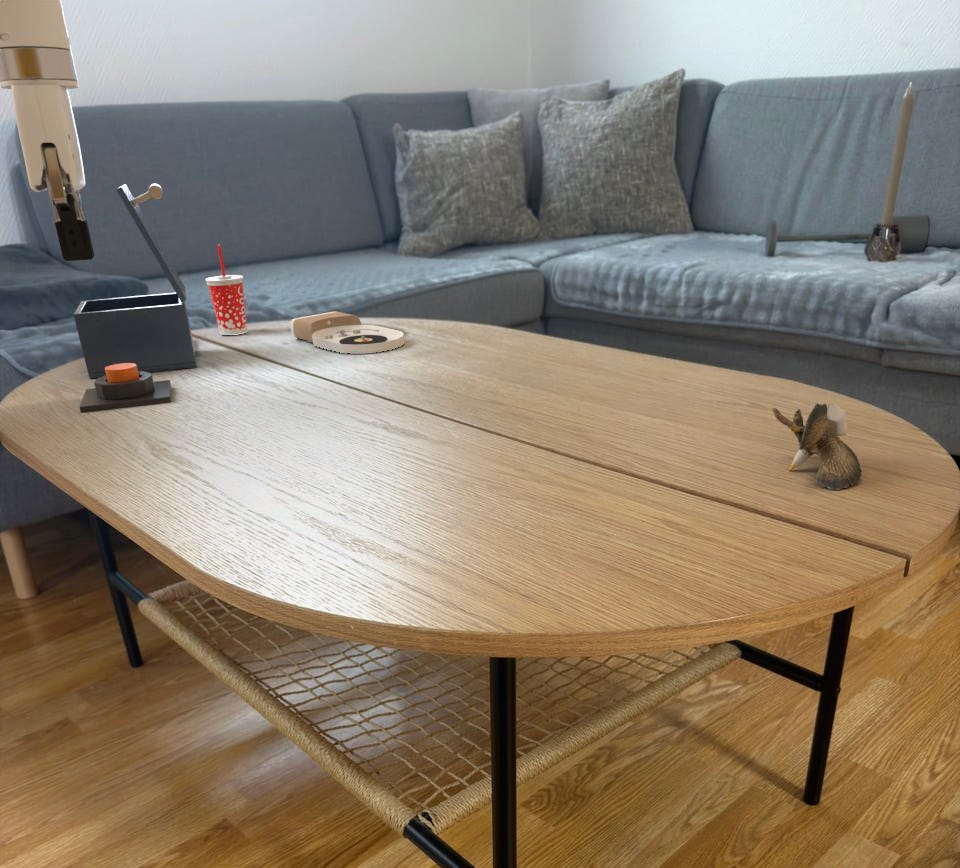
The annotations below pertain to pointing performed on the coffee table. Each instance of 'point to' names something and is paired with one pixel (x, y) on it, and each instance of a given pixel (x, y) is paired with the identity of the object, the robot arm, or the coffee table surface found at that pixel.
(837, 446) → the eagle figurine
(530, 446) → the coffee table surface
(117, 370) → the button
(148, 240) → the lid
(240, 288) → the beverage cup
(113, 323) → the dark grey box
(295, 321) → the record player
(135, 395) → the control block
